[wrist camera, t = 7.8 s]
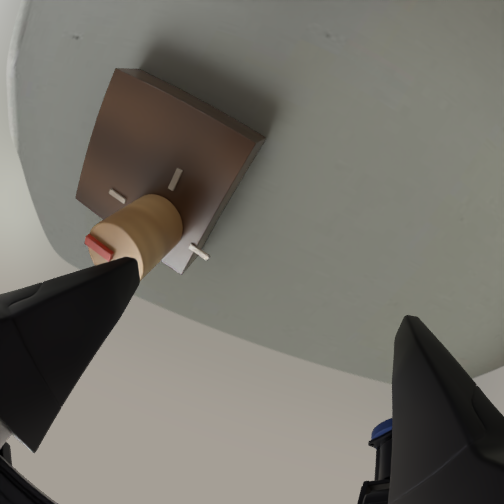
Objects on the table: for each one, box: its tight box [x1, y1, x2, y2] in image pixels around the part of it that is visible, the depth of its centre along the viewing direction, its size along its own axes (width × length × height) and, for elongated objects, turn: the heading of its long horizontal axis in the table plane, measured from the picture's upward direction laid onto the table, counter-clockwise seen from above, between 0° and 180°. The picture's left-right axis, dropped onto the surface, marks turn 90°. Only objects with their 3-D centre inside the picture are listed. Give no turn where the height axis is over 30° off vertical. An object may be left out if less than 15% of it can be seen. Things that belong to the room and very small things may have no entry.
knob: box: [85, 194, 183, 281], centre depth 17 cm, size 4×4×5 cm
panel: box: [76, 68, 266, 275], centre depth 19 cm, size 12×11×3 cm
